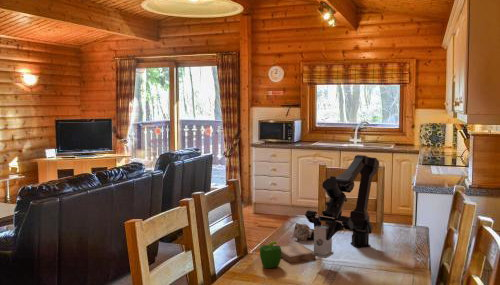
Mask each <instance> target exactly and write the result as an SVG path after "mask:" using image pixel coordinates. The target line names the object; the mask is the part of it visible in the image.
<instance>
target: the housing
mask: <svg viewBox="0 0 500 285" xmlns="http://www.w3.org/2000/svg"><path fill="white" fill-rule="evenodd" d="M313 229H314V238H313V251H314V252H313V253H312V255H313V256H316V257H319V258H321V259H328V258H329V257H331V256H333V255H334V253H335V252H334V251H333V236H332V237H331V238H330V239H329V240H327V235H328V232H329V229H330V226H329V225H326V224H322V223H321V224H320V225H318V226H315V227H314V226H313Z"/></svg>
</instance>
